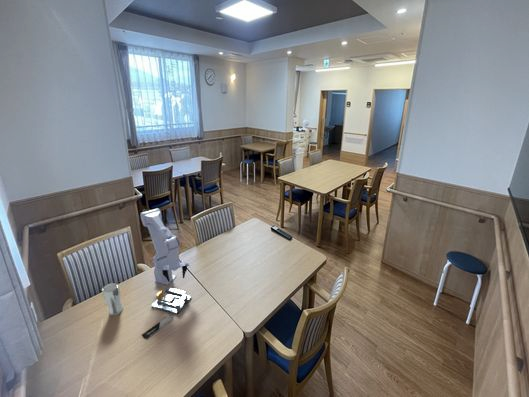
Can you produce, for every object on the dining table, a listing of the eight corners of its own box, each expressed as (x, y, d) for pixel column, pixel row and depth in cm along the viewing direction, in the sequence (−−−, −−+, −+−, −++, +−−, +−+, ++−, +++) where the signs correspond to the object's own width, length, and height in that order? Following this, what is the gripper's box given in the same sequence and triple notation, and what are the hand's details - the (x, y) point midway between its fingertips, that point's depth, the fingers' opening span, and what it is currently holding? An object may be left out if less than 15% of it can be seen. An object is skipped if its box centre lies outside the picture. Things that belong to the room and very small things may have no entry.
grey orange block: (157, 299, 133) (156, 294, 132) (162, 294, 137) (161, 289, 135) (170, 303, 131) (169, 298, 130) (174, 297, 134) (173, 292, 133)
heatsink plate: (151, 307, 130) (150, 301, 129) (166, 291, 141) (165, 285, 139) (178, 314, 126) (177, 308, 124) (191, 298, 137) (190, 292, 135)
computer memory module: (169, 313, 126) (174, 318, 123) (169, 315, 126) (174, 319, 124) (141, 334, 115) (145, 339, 113) (141, 335, 115) (146, 340, 113)
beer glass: (108, 318, 123) (101, 294, 118) (108, 308, 129) (102, 285, 123) (124, 313, 126) (118, 289, 121) (124, 303, 132) (118, 281, 126)
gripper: (158, 265, 124) (162, 287, 130) (188, 259, 130) (190, 280, 135) (158, 257, 130) (161, 278, 136) (186, 252, 136) (189, 272, 141)
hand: (176, 278), depth 136 cm, fingers open, 7 cm apart
